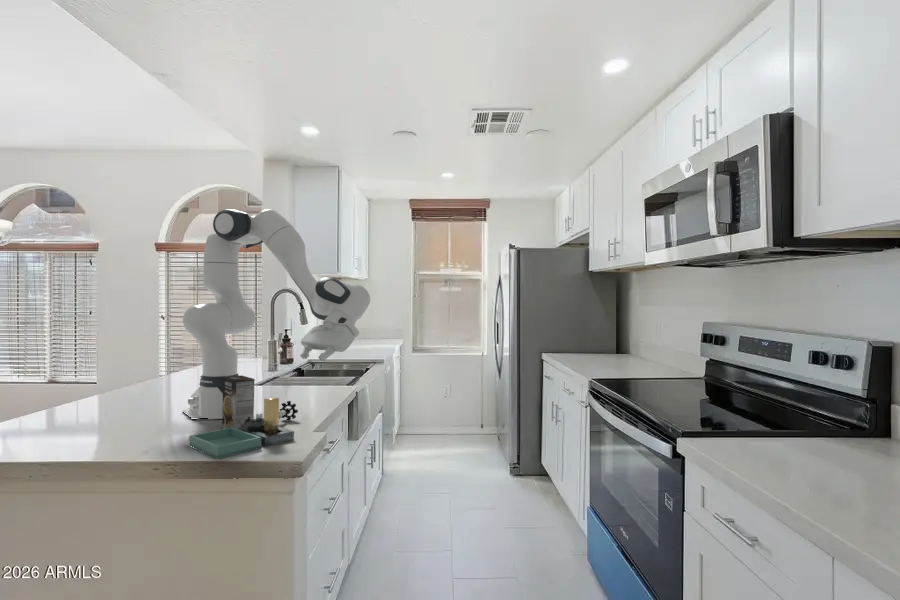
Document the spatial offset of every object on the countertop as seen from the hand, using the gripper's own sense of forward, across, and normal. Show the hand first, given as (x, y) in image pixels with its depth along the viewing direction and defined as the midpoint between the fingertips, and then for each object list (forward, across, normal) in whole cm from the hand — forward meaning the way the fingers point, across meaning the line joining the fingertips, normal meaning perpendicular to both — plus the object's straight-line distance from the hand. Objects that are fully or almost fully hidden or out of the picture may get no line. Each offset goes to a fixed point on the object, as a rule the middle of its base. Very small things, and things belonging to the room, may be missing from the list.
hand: (311, 358), depth 153 cm
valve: (+17, -15, +15) cm, 27 cm away
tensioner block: (+25, -4, +6) cm, 26 cm away
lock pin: (+25, -1, +6) cm, 26 cm away
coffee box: (+25, -20, +6) cm, 33 cm away
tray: (+34, -4, -2) cm, 34 cm away
